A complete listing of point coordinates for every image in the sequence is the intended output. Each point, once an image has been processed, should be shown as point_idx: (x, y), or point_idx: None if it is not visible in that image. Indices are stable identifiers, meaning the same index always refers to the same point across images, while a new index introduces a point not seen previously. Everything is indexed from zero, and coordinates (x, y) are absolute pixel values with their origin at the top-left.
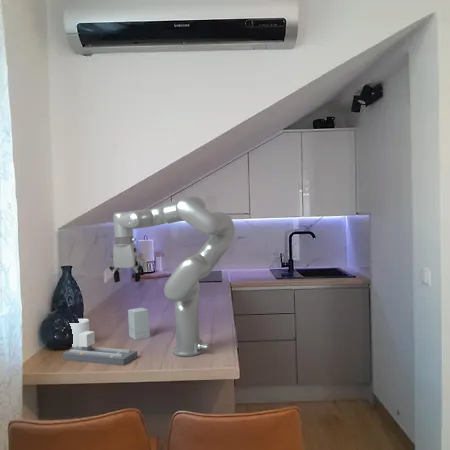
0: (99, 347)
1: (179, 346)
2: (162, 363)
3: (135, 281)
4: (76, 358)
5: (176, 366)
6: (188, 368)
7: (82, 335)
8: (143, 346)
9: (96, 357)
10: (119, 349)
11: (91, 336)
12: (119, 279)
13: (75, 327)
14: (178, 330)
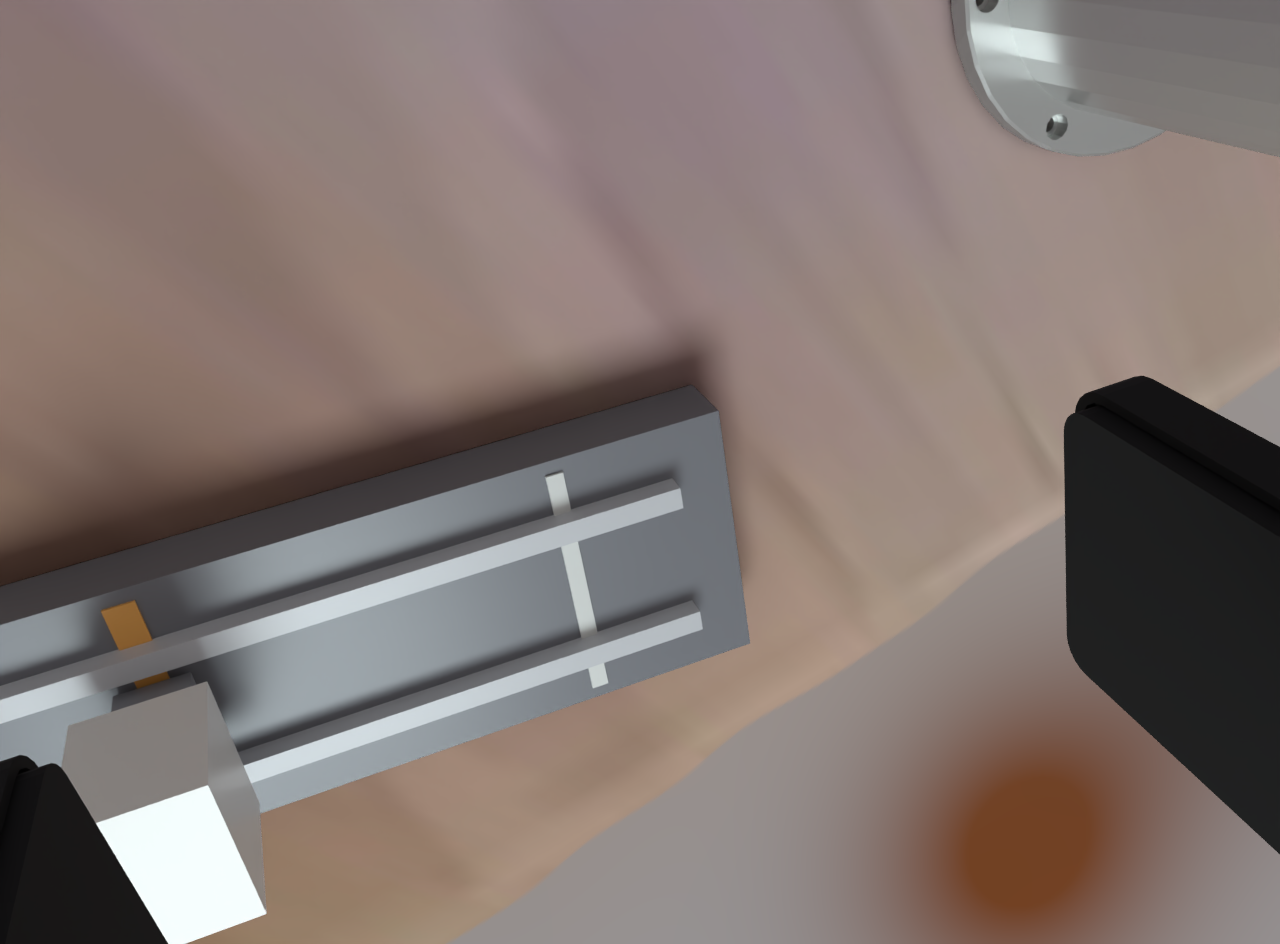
0: (261, 621)
1: (1124, 120)
2: (1009, 385)
3: (1102, 664)
4: None
5: None
6: (1248, 361)
7: (199, 930)
8: (479, 34)
9: (443, 742)
10: (552, 536)
11: (230, 801)
12: (52, 833)
13: None
14: (1270, 154)
